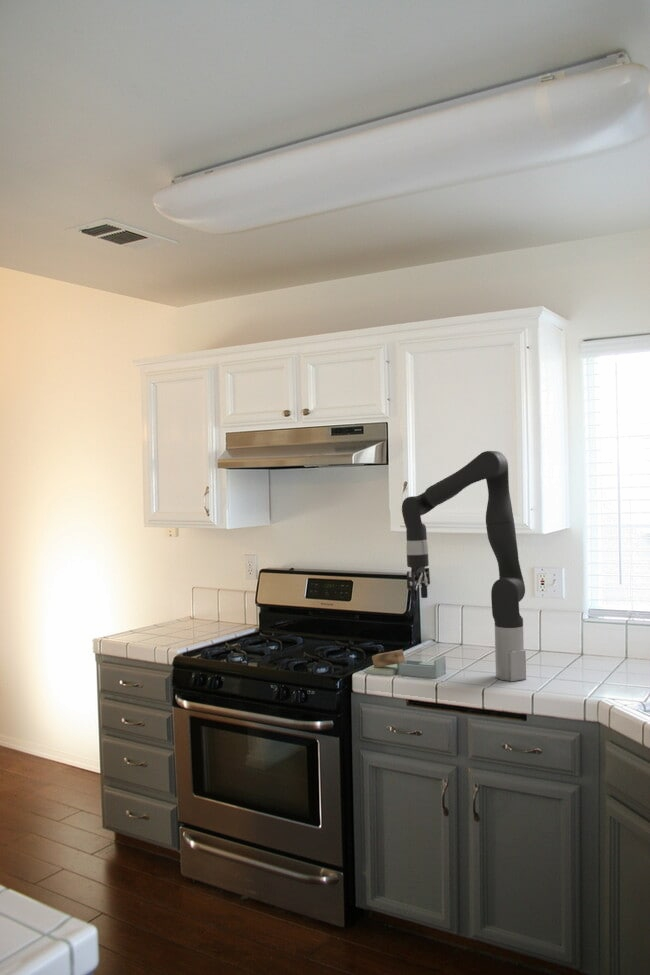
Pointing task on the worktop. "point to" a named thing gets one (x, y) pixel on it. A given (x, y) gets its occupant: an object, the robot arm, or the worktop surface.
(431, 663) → the pale blue tray
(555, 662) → the worktop surface
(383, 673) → the plate
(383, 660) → the walnut bar
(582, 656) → the worktop surface
